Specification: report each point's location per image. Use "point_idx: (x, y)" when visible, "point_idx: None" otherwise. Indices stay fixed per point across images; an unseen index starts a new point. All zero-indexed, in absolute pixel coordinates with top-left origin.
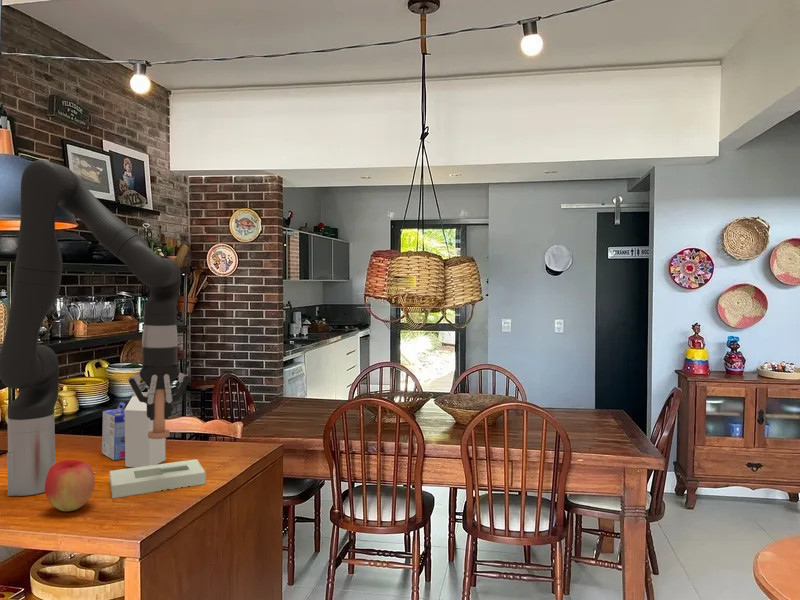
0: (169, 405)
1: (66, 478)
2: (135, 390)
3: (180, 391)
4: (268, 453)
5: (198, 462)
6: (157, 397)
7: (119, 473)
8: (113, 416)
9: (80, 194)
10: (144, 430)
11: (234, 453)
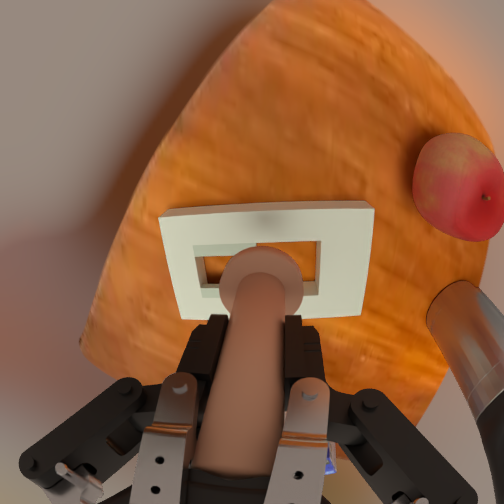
0: (189, 368)
1: (484, 147)
2: (425, 452)
3: (95, 415)
4: (84, 329)
5: (176, 296)
6: (257, 415)
7: (347, 291)
8: (330, 458)
9: None
10: (285, 412)
11: (133, 356)
